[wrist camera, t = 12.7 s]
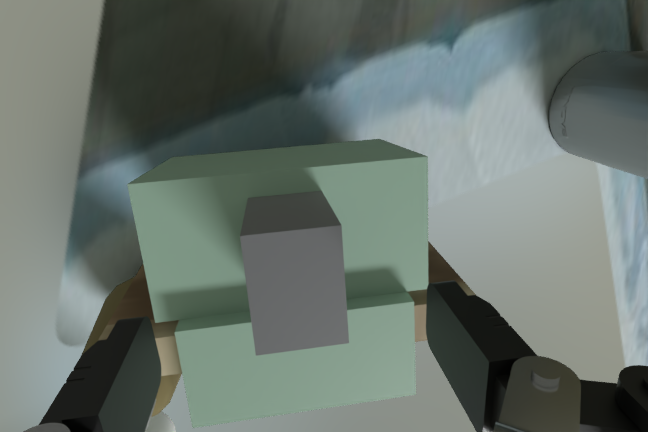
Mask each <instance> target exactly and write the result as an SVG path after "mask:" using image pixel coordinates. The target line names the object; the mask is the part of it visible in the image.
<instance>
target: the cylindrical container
mask: <svg viewBox="0 0 648 432" xmlns="http://www.w3.org/2000/svg"><path fill="white" fill-rule="evenodd" d="M145 432H176V431H175V426H174V423H173V422H172V420H171V419H170V418H169V417H168V416H167V415H166V414H164V413H163V412H160V413H159V414H157V415H155V416H153V417H151V419H150V422H149V426H148V428H147V429H146V430H145Z"/></svg>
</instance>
